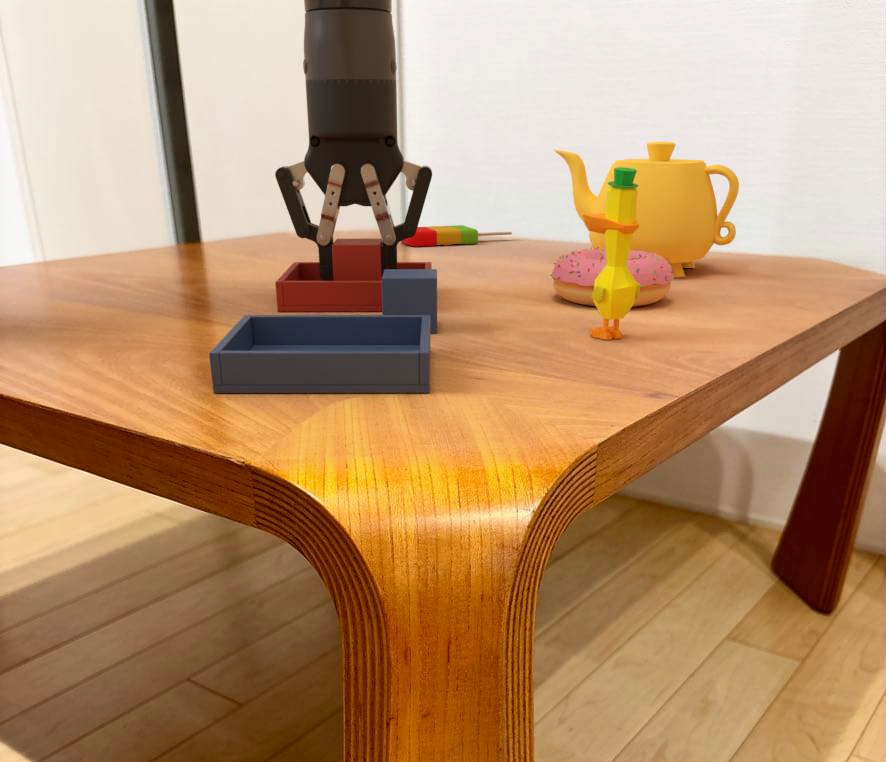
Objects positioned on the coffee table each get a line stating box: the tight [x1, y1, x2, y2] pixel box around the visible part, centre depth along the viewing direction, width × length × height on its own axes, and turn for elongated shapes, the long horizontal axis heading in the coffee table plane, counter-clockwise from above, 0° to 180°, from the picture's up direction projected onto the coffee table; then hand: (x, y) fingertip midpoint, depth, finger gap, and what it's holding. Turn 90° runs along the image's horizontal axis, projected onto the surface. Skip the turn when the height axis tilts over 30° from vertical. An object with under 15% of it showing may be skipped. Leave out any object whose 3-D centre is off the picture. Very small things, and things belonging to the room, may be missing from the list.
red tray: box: [274, 261, 433, 313], centre depth 83 cm, size 13×11×2 cm
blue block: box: [381, 268, 438, 334], centre depth 72 cm, size 4×4×4 cm
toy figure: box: [583, 167, 641, 341], centre depth 67 cm, size 7×4×12 cm, turn 27°
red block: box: [332, 238, 383, 281], centre depth 82 cm, size 4×4×4 cm
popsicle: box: [400, 224, 513, 248], centre depth 119 cm, size 6×15×2 cm, turn 110°
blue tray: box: [208, 314, 431, 394], centre depth 60 cm, size 13×11×2 cm
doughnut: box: [549, 247, 675, 308], centre depth 83 cm, size 11×11×4 cm
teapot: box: [553, 141, 740, 278], centre depth 97 cm, size 14×20×13 cm
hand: (359, 286), depth 83 cm, fingers closed on red block, 4 cm apart
